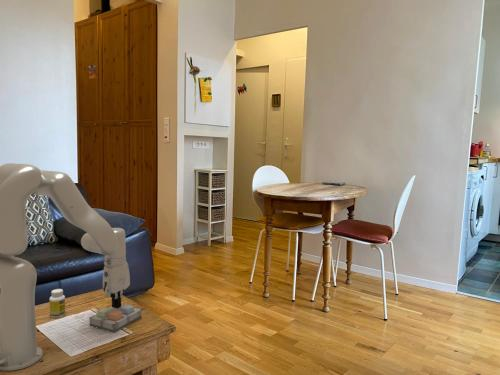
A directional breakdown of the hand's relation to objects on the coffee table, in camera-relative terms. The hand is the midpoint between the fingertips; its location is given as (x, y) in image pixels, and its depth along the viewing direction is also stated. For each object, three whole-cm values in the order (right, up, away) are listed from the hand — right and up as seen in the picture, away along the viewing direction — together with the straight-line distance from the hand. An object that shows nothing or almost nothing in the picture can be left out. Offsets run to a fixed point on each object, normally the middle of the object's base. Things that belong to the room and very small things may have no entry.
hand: (116, 307), depth 149 cm
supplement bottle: (-23, -4, +1) cm, 24 cm away
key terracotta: (+2, -2, -8) cm, 8 cm away
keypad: (+1, -4, -4) cm, 6 cm away
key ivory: (0, -3, 0) cm, 3 cm away
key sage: (-3, -2, -5) cm, 6 cm away
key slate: (+5, -2, -2) cm, 6 cm away
